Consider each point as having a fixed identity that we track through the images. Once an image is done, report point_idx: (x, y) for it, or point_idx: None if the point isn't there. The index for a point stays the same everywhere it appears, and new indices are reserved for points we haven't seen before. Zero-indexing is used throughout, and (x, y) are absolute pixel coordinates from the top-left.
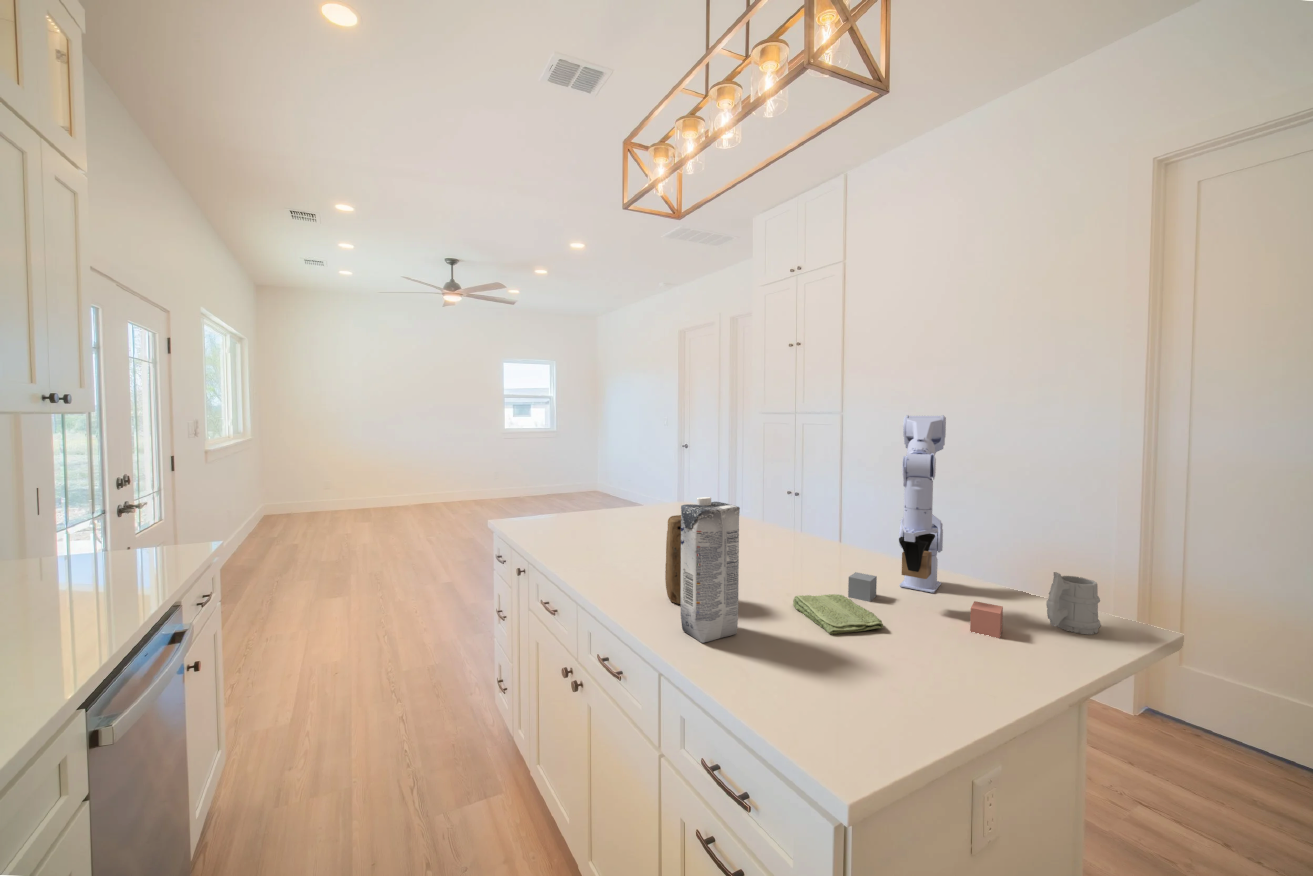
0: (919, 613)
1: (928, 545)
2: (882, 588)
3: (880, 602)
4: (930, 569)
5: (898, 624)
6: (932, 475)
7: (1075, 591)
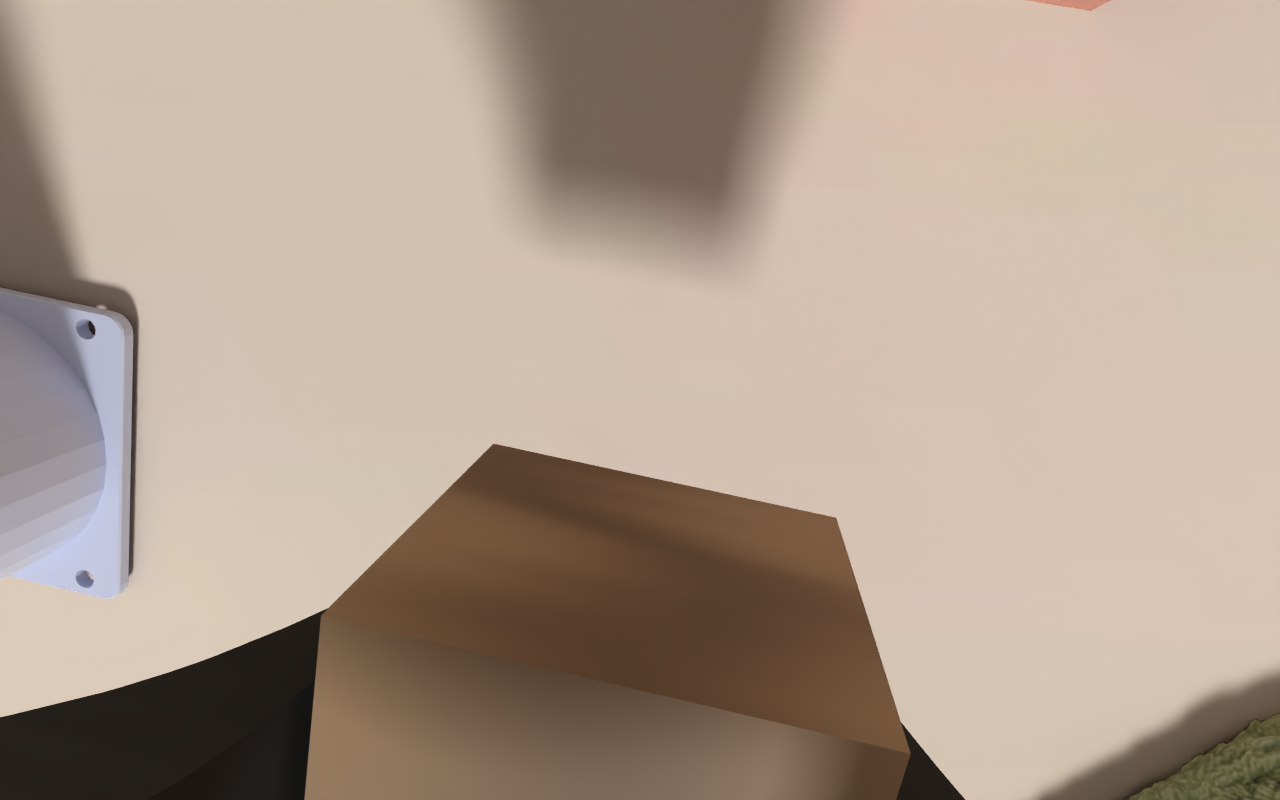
0: (762, 435)
1: (200, 790)
2: None
3: None
4: (534, 485)
5: (1133, 594)
6: None
7: None
